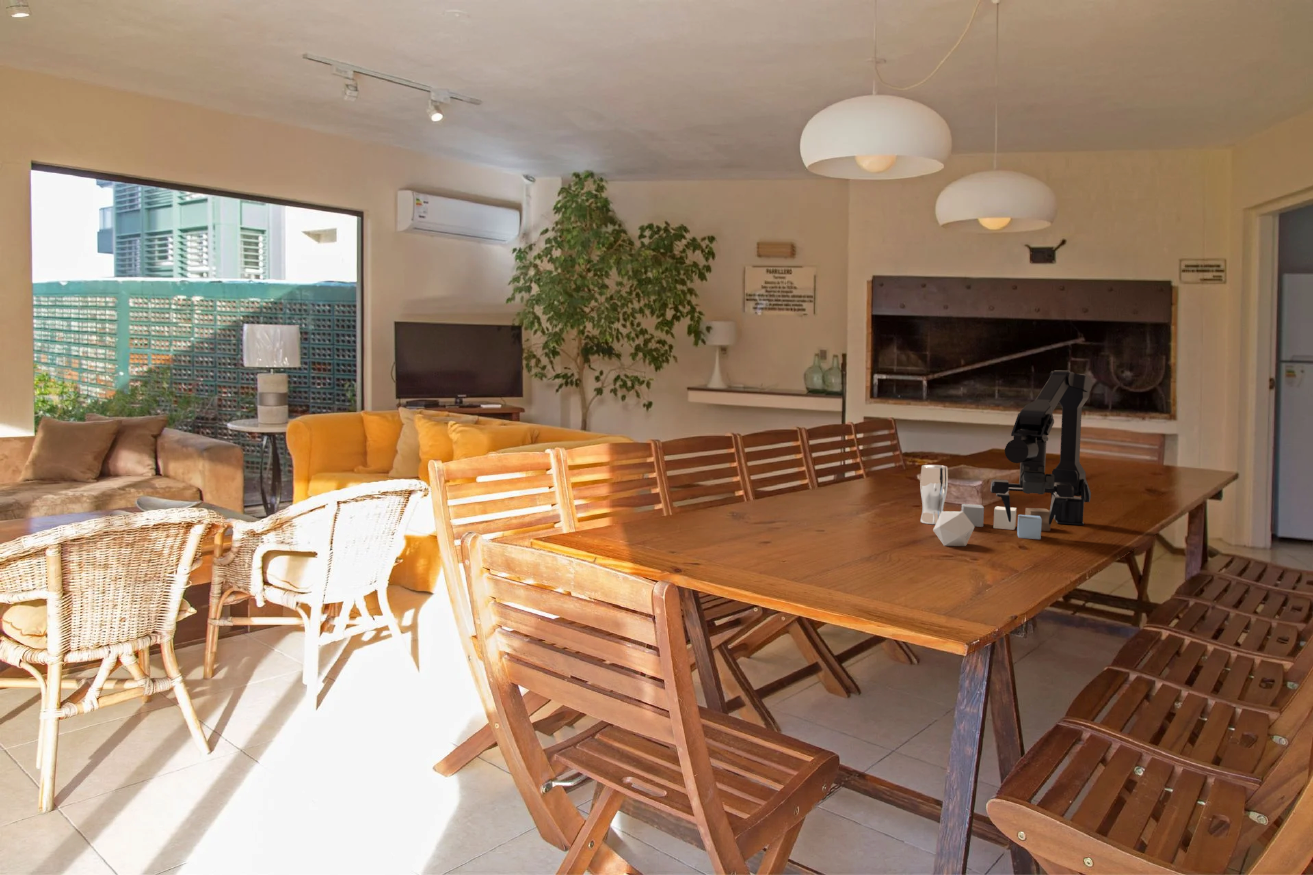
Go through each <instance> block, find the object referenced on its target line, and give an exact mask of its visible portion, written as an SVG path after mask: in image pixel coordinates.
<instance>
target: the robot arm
mask: <svg viewBox="0 0 1313 875" xmlns="http://www.w3.org/2000/svg"><path fill="white" fill-rule="evenodd" d="M1092 387H1093V381H1092V379H1091V378H1090V377H1089V376H1088V375H1087V374H1086V373H1075V372H1073V371H1070V370H1059V369H1058V370H1051V371H1050V373H1049V377H1048V380H1047V381H1046V383H1045V385H1044V386H1043V387H1042V389H1041V391H1040V392H1039V394H1038V395H1037V397H1036V399H1035V400H1033V401H1032V402H1029V403H1026V404H1025V406H1024V407H1022V409H1021V410H1020V411H1019V412H1018V414H1017V416H1016V419H1015V422H1014V424H1013V428H1012V431H1011V432H1010V433H1011V434H1010V435H1011V437H1013V439H1011V440H1010V441H1008V442H1007V444H1006V445H1005V448H1004V455H1005V457H1006V459H1007V460H1008V461H1009V462H1011V463H1013V464H1019V477H1018V478H1019V479H1018V480H1019V481H1018V483H1013V482H1011V483H1010V482H1009V480H1008V479H995V478H994V479H992V480H991V481H990V492H991V494H995V496H996V497H998V498H1001V500H1002V502H1003V505H1004V507H1005V509H1006V513H1007V516H1008V520H1009V522H1011V510H1010V507H1011V499H1010V496H1011V495H1010V494H1009V492H1023V493H1024V494H1027V495H1028V494H1029V495H1030V494H1038V495H1044V494H1045V493H1046V494H1050V495H1051V496H1050V497H1051V502H1050V507H1049V508H1050V509H1049V511H1050V513H1049V524H1050V525H1052V523H1053V520H1054V521H1055V522H1056V524H1060V525H1061V524H1062V525H1063V524H1064V525H1074V526H1075V525H1077V526H1079V525H1080V526H1084V525H1085V523H1084V511H1085V509H1084V508H1085V503H1090V501H1091V498H1092V496H1091V495H1092V492H1091V489H1090V487H1089V486H1090V485H1089V484H1088V481H1087V478H1086V477H1087V475H1086V471H1085V469H1084V468H1083V466H1082V464H1081V462H1080V455H1081V435H1082V434H1081V433H1082V432H1081V431H1082V414H1083V412H1082V411H1083V410H1082V408H1083V406H1084V405H1086V404H1085V403H1086V402H1087V401H1088V400H1089V397H1090V392H1091V390H1092ZM1058 404H1060V406H1061V410H1062V411H1061V430H1060V432H1061V433H1060V452H1059V463H1058V464H1057V465H1056V466H1055V468H1053V470H1052V471H1051V473H1046V459H1047V458H1046V456H1047V442H1048V441H1049V437H1048V436H1049V435H1050V432H1051V430H1052V429H1053V426H1054V424H1055V419H1054V416H1053V415H1054V414H1053V413H1054V410H1055V409H1056V408H1057V405H1058Z"/></svg>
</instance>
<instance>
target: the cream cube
mask: <svg viewBox="0 0 1313 875" xmlns="http://www.w3.org/2000/svg"><path fill="white" fill-rule="evenodd" d="M1010 510H1011V522H1009V520H1008V516H1007V513H1006V509H1005V506H998V505H997V506H995V507H994V511H993V529H1000V530H1001V529H1002V530H1011V531H1012V530H1013V531H1014V530H1015V529H1016V524H1017V507H1011V506H1010Z"/></svg>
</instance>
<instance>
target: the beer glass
mask: <svg viewBox="0 0 1313 875" xmlns="http://www.w3.org/2000/svg"><path fill="white" fill-rule="evenodd" d="M948 478H949V470H948V466H946V465H941V464H923V465H921V470H920V478H919V479H920V480H919V482H920V483H919V485H920V486H919V487H920V489H919V490H920V496H921V503H922V504H921V505H922V509H921V510H922V511H921V516H920V521H919V522H920V523H922V524H926V525H934V526H935V525H936V523H937V520H938V518H939V516H940V514H941V512H942V511H944V506H945V501H946V497H947V493H948V485H949V484H948V483H949V482H948V481H949V479H948Z"/></svg>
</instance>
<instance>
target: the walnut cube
mask: <svg viewBox="0 0 1313 875" xmlns="http://www.w3.org/2000/svg"><path fill="white" fill-rule="evenodd" d="M1024 511H1025V512H1024V515H1033V516H1040V517H1041V519H1042V524H1041V532H1050V531H1051V525H1052V524H1051V525H1050V524H1049V513H1050V509H1047V508H1039V507H1037V508H1036V507H1035V508H1034V507H1025V510H1024Z"/></svg>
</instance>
